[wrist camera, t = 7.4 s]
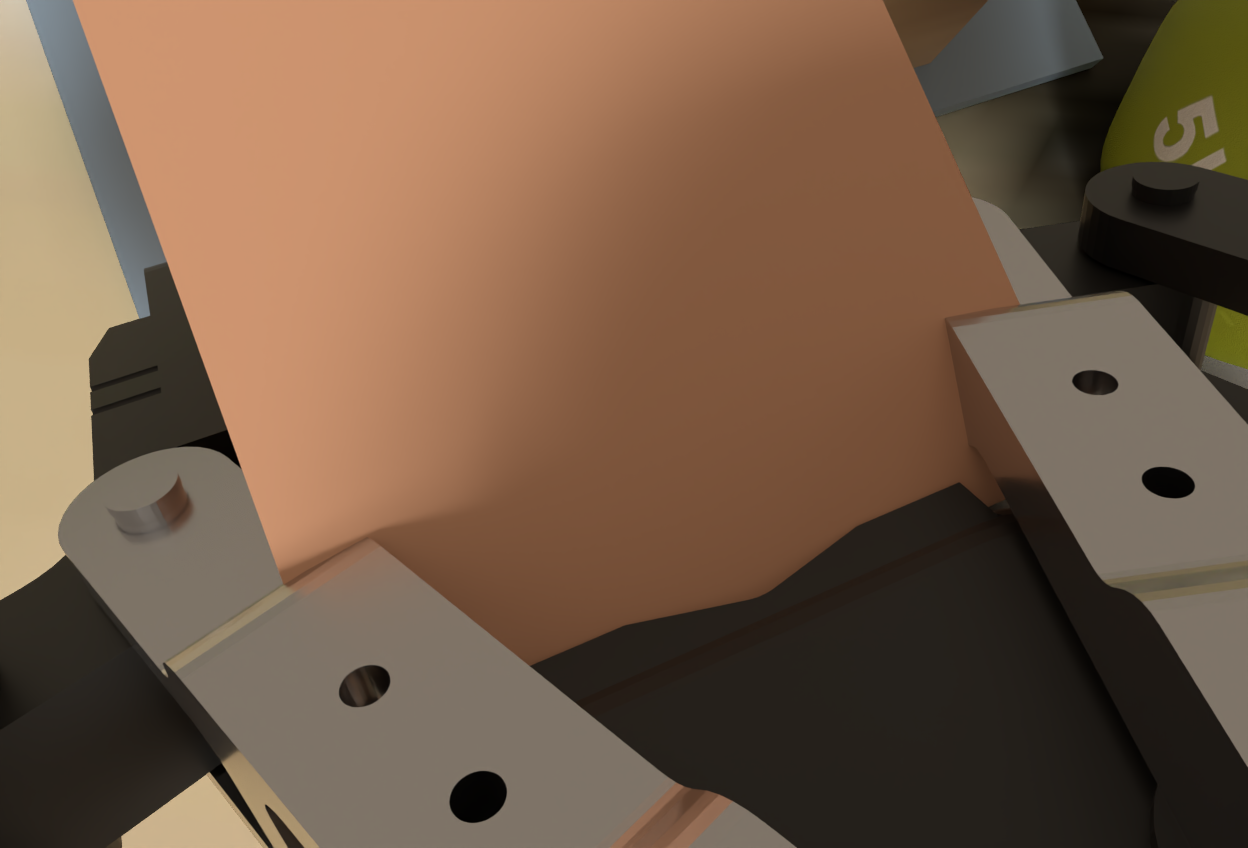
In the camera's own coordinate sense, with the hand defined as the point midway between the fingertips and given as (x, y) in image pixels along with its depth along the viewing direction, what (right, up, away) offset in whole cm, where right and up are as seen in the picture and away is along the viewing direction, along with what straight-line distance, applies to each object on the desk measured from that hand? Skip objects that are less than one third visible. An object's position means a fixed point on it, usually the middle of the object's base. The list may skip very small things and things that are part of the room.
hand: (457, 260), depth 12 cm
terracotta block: (0, -3, +4) cm, 5 cm away
